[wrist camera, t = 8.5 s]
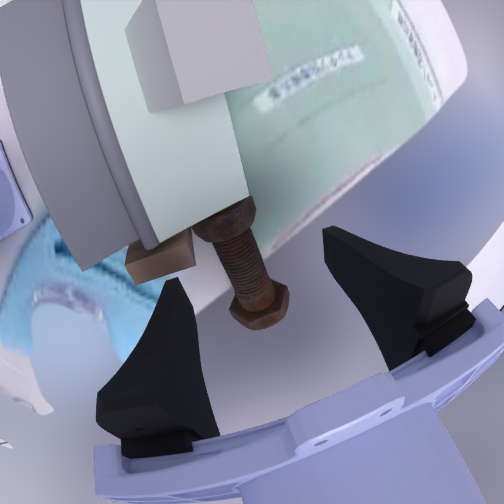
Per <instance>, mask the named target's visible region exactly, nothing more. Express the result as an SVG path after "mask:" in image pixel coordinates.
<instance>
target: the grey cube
mask: <svg viewBox="0 0 504 504" xmlns="http://www.w3.org/2000/svg"><path fill="white" fill-rule="evenodd" d="M125 34H126V38H127V41H128V45H129V49H130V52H131V56H132V59H133V63H134V66H135V70H136V73H137V76H138V80H139V83H140V86H141V90H142V93H143V96H144V99H145V102H146V106H147V109H148V112H149V113H150V112H154V111H158V110H162V109H167V108H171V107H176V106H180V105H185V104H188V103H191V102H194V101H197V100H200V99H203V98H207V97H210V96H213V95H217V94H220V93H224V92H228V91H231V90H235V89H239V88H243V87H247V86H252V85H256V84H261V83H265V82H270V81H273V77H272V73H271V69H270V64H269V60H268V56H267V52H266V48H265V44H264V40H263V36H262V32H261V28H260V25H259V21H258V17H257V14H256V10H255V6H254V3H253V0H142V2H141V3H140V5H139V7H138V8H137V10H136V11H135V13H134V14H133V16H132V18H131V19H130V21H129V23H128V24H127V26H126V28H125Z"/></svg>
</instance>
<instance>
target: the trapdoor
mask: <svg viewBox="0 0 504 504" xmlns="http://www.w3.org/2000/svg"><path fill="white" fill-rule="evenodd" d="M62 1H63V5H62ZM141 2H142V0H13V1H11V2H9V3H7V4H5V5H4V6H2V7H0V76H1V80H2V85H3V90H4V94H5V98H6V102H7V106H8V109H9V113H10V116H11V120H12V123H13V126H14V129H15V132H16V135H17V138H18V141H19V144H20V147H21V150H22V152H23V155H24V158H25V160H26V163H27V165H28V168H29V170H30V173H31V175H32V177H33V180H34V182H35V184H36V186H37V189H38V191H39V193H40V195H41V197H42V200H43V202H44V204H45V206H46V208H47V210H48V212H49V214H50V216H51V218H52V220H53V222H54V224H55V225H56V227H57V229H58V231H59V233H60V235H61V236H62V238H63V240H64V242H65V244H66V245H67V247H68V249H69V250H70V252H71V254H72V256H73V257H74V259H75V261H76V262H77V264H78V265H79V267H80V269H81V270H82V272H83V271H85V270H87V269H88V268H90V267H92V266H93V265H95V264H97V263H98V262H100V261H102V260H103V259H105V258H107V257H108V256H110V255H112V254H113V253H115V252H117V251H118V250H120V249H122V248H124V247H125V246H127V245H129V244H131V243H132V242H134V241H136V240H138V239H139V238H140V240H141V242H142V244H143V246H144V248H145V249H146V250H150V249H153V248H155V247H157V246H158V245H159V243H161V242H162V241H164V240H166V239H168V238H170V237H172V236H173V235H175V234H177V233H179V232H181V231H183V230H184V229H186V228H188V227H190V226H192V225H194V224H196V223H197V222H199V221H201V220H203V219H205V218H207V217H209V216H211V215H213V214H215V213H217V212H218V211H220V210H222V209H224V208H226V207H228V206H230V205H232V204H234V203H236V202H238V201H240V200H242V199H244V198H246V197H248V196H250V195H249V191H248V187H247V183H246V179H245V174H244V170H243V166H242V162H241V158H240V154H239V150H238V146H237V142H236V138H235V133H234V129H233V125H232V121H231V117H230V113H229V109H228V105H227V101H226V97H225V93H220V94H217V95H213V96H210V97H207V98H203V99H200V100H197V101H194V102H191V103H188V104H185V105H180V106H176V107H171V108H167V109H162V110H158V111H154V112H150V113H149V112H148V109H147V106H146V102H145V99H144V96H143V93H142V90H141V86H140V83H139V80H138V76H137V73H136V70H135V66H134V63H133V59H132V56H131V52H130V49H129V45H128V41H127V38H126V34H125V28H126V26H127V24H128V23H129V21H130V19H131V18H132V16H133V14H134V13H135V11H136V10H137V8H138V7H139V5H140V3H141ZM63 8H64V11H63ZM64 14H65V17H64ZM65 20H66V23H65ZM66 25H67V28H66ZM67 30H68V33H67ZM68 35H69V38H68ZM69 40H70V42H69ZM70 44H71V47H70ZM71 49H72V51H71ZM72 53H73V55H72ZM73 57H74V60H73ZM74 61H75V64H74ZM75 65H76V68H75ZM76 69H77V71H76ZM77 73H78V75H77ZM78 77H79V79H78ZM79 80H80V82H79ZM80 84H81V86H80ZM81 87H82V89H81ZM82 91H83V93H82ZM83 94H84V96H83ZM84 97H85V99H84ZM85 101H86V103H85ZM86 104H87V106H86ZM87 107H88V109H87ZM88 110H89V112H88ZM89 113H90V115H89ZM90 116H91V118H90ZM91 120H92V121H91ZM92 123H93V124H92ZM93 125H94V127H93ZM94 128H95V130H94ZM95 131H96V133H95ZM96 134H97V136H96ZM97 137H98V139H97ZM98 140H99V141H98ZM99 143H100V144H99ZM100 145H101V147H100ZM101 148H102V150H101ZM102 151H103V152H102ZM103 153H104V155H103ZM104 156H105V158H104ZM105 159H106V160H105ZM106 161H107V163H106ZM107 164H108V165H107ZM108 166H109V168H108ZM109 169H110V170H109ZM110 171H111V173H110ZM111 174H112V175H111ZM112 176H113V178H112ZM113 179H114V180H113ZM114 181H115V183H114ZM115 184H116V185H115ZM116 186H117V188H116ZM117 189H118V190H117ZM118 191H119V192H118ZM119 193H120V195H119ZM120 196H121V197H120ZM121 198H122V199H121ZM122 200H123V202H122ZM123 203H124V204H123ZM124 205H125V206H124ZM125 207H126V208H125ZM126 209H127V211H126ZM127 212H128V213H127ZM128 214H129V215H128ZM129 216H130V217H129ZM130 218H131V219H130ZM131 220H132V222H131ZM132 223H133V224H132ZM133 225H134V226H133ZM134 227H135V228H134ZM135 229H136V230H135ZM136 231H137V232H136ZM137 233H138V234H137ZM138 235H139V237H138Z"/></svg>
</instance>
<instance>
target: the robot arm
mask: <svg viewBox="0 0 504 504" xmlns="http://www.w3.org/2000/svg"><path fill="white" fill-rule="evenodd" d="M22 218H23V219H24V221H25V222H24V221H23V220H22ZM31 220H32V216H31V213H30V211H29V209H28V207H27V205H26V203H25V201H24V199H23V197H22V195H21V192H20V190H19V188H18V186H17V183H16V181H15V179H14V176H13V174H12V172H11V169H10V167H9V164H8V161H7V159H6V156H5V153H4V151H3V148H2V145H1V142H0V240H2V239H3V238H5V237H7V236H8V235H10V234H11V233H13V232H15V231H16V230H18V229H20V228H21V227H23V226H25V225H27V224H28V223H30V221H31ZM322 232H323V245H324V259H325V263H326V265H327V267H328V269H329V270H330V272H331V274H332V275H333V277H334V279H335V280H336V281H337V283H338V284H339V285H340V286H341V288H342V289H343V290H344V292H345V293H346V294H347V295H348V297H349V298H350V299H351V301H352V302H353V303H354V305H355V306H356V307H357V309H358V310H359V312H360V313H361V315H362V317H363V318H364V320H365V322H366V323H367V325H368V327H369V329H370V331H371V333H372V335H373V336H374V338H375V340H376V342H377V344H378V346H379V349H380V351H381V353H382V355H383V357H384V359H385V362H386V364H387V367H388V369H389V372H388V373H380V374H377V375H375V376H372V377H370V378H368V379H366V380H364V381H361V382H360V383H357V384H355V385H353V386H351V387H349V388H347V389H345V390H342V391H340V392H338V393H335V394H333V395H331V396H328V397H326V398H324V399H321V400H319V401H317V402H314V403H311V404H309V405H307V406H305V407H303V408H301V409H299V410H297V411H295V412H294V413H293V414H291V415H290V416H288V417H285V418H282V419H279V420H276V421H273V422H270V423H266V424H263V425H260V426H256V427H253V428H249V429H246V430H242V431H238V432H235V433H231V434H227V435H222V436H220V432H219V429H218V427H217V424H216V421H215V418H214V414H213V411H212V408H211V404H210V401H209V397H208V393H207V390H206V387H205V382H204V378H203V373H202V368H201V361H200V353H199V343H198V332H197V323H196V319H195V314H194V310H193V306H192V304H191V302H190V300H189V298H188V296H187V294H186V292H185V290H184V288H183V286H182V284H181V282H180V280H179V278H178V277H176V278H173V279H170V280H167V281H166V282H165V284H164V286H163V289H162V291H161V294H160V297H159V299H158V302H157V304H156V307H155V309H154V311H153V314H152V316H151V318H150V320H149V323H148V325H147V327H146V329H145V331H144V333H143V335H142V337H141V338H140V340H139V342H138V343H137V345H136V347H135V348H134V350H133V351H132V353H131V354H130V355H129V357H128V358H127V360H126V361H125V363H124V364H123V365H122V366H121V368H120V369H119V370H118V371H117V373H116V374H115V375H114V376H113V377H112V378H111V379H110V381H109V382H108V383H107V384H106V385H105V386H104V387H103V388H102V389H101V390H100V391H99V392H98V394H97V403H96V422H97V423H98V425H99V426H100V427H101V428H103V429H104V430H106V431H107V432H109V433H111V434H112V435H114V436H116V437H118V438H120V439H121V446H120V445H95V446H94V474H95V489H96V495H97V496H99V497H103V498H106V499H110V500H115V501H119V502H124V503H129V504H183V503H198V502H208V501H217V500H226V499H232V498H239V497H242V500H243V504H486V502H485V500H484V498H483V497H482V494H481V492H480V490H479V488H478V486H477V484H476V482H475V480H474V479H473V476H472V475H471V473H470V471H469V469H468V467H467V465H466V463H465V462H464V460H463V458H462V456H461V454H460V453H459V451H458V449H457V447H456V446H455V444H454V442H453V440H452V439H451V437H450V435H449V433H448V432H447V430H446V429H445V427H444V425H443V423H442V422H441V420H440V419H439V417H438V415H437V414H436V412H437V411H438V410H440V409H441V408H442V407H443V406H445V405H446V404H447V403H449V402H450V401H451V400H452V399H453V398H455V397H456V396H457V395H458V394H459V393H461V392H462V391H463V390H464V389H465V388H466V387H468V386H469V385H470V384H471V383H472V382H473V381H474V380H475V379H476V378H478V376H480V375H481V374H482V373H483V372H484V371H485V370H486V369H487V368H488V367H489V366H490V365H491V364H492V363H493V362H494V361H495V360H496V359H497V358H498V356H499V355H500V354H501V353H502V351H503V350H504V315H503V314H502V313H501V312H500V311H499V310H498V309H497V307H496V306H495V305H494V304H493V303H492V302H491V301H490V300H489V299H488V298H487V299H485V300H484V301H483V302H481V303H480V304H479V305H478V306H476V307H475V308H474V309H473V310H472V312H470V311H469V310H468V309H467V308H468V307H469V304H468V303H467V302H466V301H465V298H466V296H467V293H468V291H469V288H470V286H471V282H472V273H471V271H469V270H468V269H467V268H466V267H465V266H464V265H463V264H462V263H461V262H459V261H442V260H435V259H427V258H421V257H417V256H412V255H408V254H404V253H401V252H397V251H394V250H391V249H388V248H385V247H382V246H380V245H377V244H374V243H372V242H370V241H367V240H365V239H363V238H360V237H358V236H356V235H354V234H351V233H350V232H347V231H345V230H343V229H341V228H338V227H336V226H330V227H327V228H324V229H322Z"/></svg>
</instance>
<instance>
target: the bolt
mask: <svg viewBox="0 0 504 504" xmlns="http://www.w3.org/2000/svg"><path fill="white" fill-rule="evenodd" d="M255 213H256V207H255V204H254V201H253V198H252V196H248V197H246V198H244V199H242V200H240V201H238V202H236V203H234V204H232V205H230V206H228V207H226V208H224V209H222V210H220V211H218V212H217V213H215V214H213V215H211V216H209V217H207V218H205V219H203V220H201V221H199V222H197V223H196V224H194V225H192V226H191V227H192V229H193V231H194V233H195V234H196V235H197V236H198V237H200V238H201V239H203V240H204V241H206V242H212V244H213V246H214V248H215V250H216V252H217V255H218V256H219V258H220V261H221V262H222V265H223V267H224V269H225V270H226V273H227V275H228V277H229V279H230V281H231V283H232V285H233V288H234V290H235V296H234V299H233V301H232V303H231V306H230V308H229V311H230V313H231V315H232V316H233V317H234V319H236V320H237V321H238V322H239V323H241V324H242V325H243V326H245V327H246V328H248V329H251V330H261V329H265V328H268V327H270V326H273V325H275V324H276V323H278V322H279V321H280V320H282V319H283V318H284V317H285V315H286V312H287V309H288V304H289V291H288V287H287V286H286V285H283V284H281V283H279V282H277V281H274V280H272V279H270V278H269V276H268V274H267V271H266V268H265V266H264V263H263V260H262V257H261V255H260V252H259V249H258V247H257V244H256V241H255V239H254V236H253V233H252V231H251V229H250V226H251V225H252V223H253V221H254V218H255Z"/></svg>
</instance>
